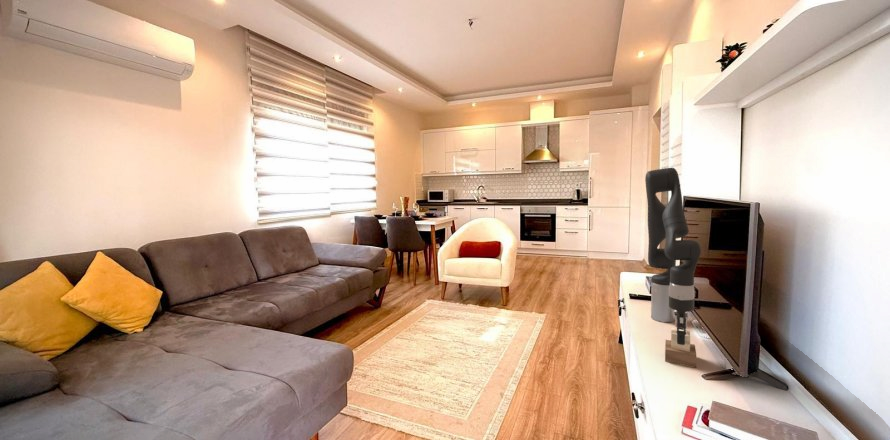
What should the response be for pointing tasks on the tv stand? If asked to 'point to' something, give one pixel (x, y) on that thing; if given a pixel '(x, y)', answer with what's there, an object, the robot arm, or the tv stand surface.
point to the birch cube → (678, 346)
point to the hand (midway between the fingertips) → (680, 339)
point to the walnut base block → (680, 355)
